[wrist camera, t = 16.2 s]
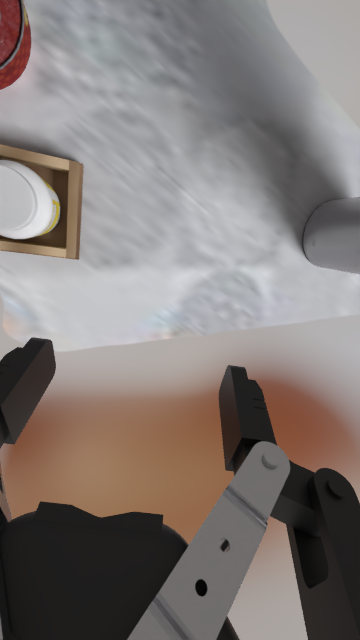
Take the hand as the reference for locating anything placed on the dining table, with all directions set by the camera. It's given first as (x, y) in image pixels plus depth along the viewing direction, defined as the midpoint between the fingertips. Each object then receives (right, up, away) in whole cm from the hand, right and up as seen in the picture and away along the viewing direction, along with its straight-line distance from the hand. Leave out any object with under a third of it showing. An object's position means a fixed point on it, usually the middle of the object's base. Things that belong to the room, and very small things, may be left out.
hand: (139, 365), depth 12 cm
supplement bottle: (-13, +13, +14) cm, 23 cm away
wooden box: (-13, +14, +15) cm, 24 cm away
